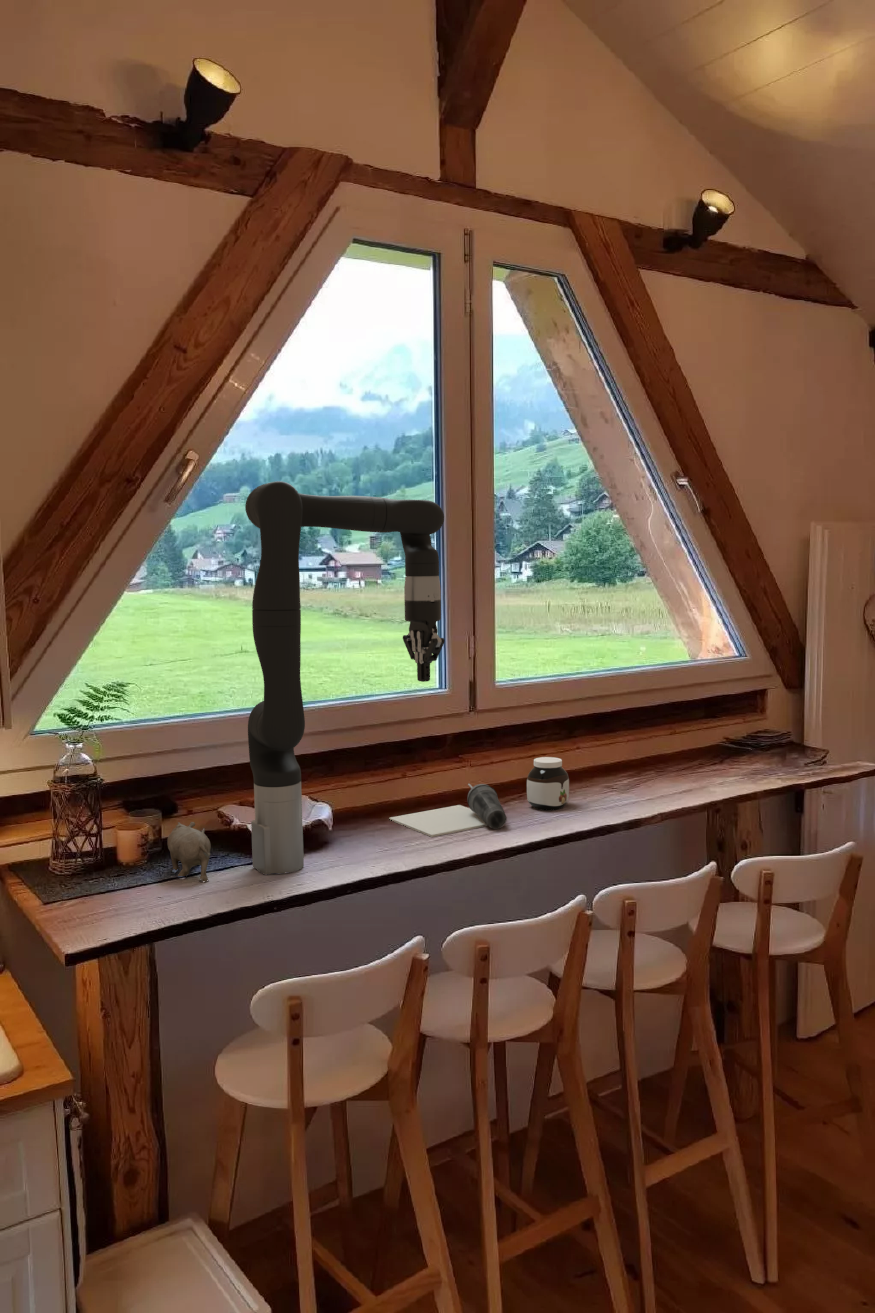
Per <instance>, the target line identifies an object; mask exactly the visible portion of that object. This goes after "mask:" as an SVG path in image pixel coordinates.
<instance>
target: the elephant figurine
mask: <svg viewBox="0 0 875 1313" xmlns="http://www.w3.org/2000/svg"><path fill="white" fill-rule="evenodd" d="M195 825H196V823H195V822H194V821H191V822H190V824H189V825H187V826H186V825H185V824H183V823H181V822H178V821H177V825H175V827H174V828H173V829H172V830H171V832H170V834H168V836H167V849H168V850H169V852H170V855H169V856H170V859H171V865H172V869H175V870H177V869H179V872H178V873H177V875H178V876H186V875H187V876H188V875H190V872H191V868H193V867H195V866H197V865H201V866H200V875H199V876H200V877H199V880H198V882H199V881H200V882H201V881H205V882H207V880H208V881H209V878H208V876H207V870H208V869H207V868H208V865H209V861H210V857H211V848H212V847H211V841H210V839H209V838H208V836H207V835H206V834H205V827H204V828H203V829H202V830H201V831H200V830H199V829H197V828H193V827H195ZM179 862H180V863H181V870H180V867H179ZM187 876H186V877H187ZM200 879H201V880H200Z"/></svg>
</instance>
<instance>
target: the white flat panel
mask: <svg viewBox="0 0 875 1313" xmlns="http://www.w3.org/2000/svg"><path fill="white" fill-rule="evenodd" d="M389 819H390V820H389ZM388 820H389V821H391V820H392V821H391V822H393V821H394V822H393V823H396V824H397V825H398V824H399V825H401V826H403V825H404V826H403V827H405V826H406V827H405V828H407V829H410V830H413V831H416V832H419V833H420V834H423V835H425V836H427V837H428V836H429V837H430V838H434V837H439V836H444V835H449V834H453V833H454V834H455V833H459V832H465V831H468V830H474V829H480V828H484V827H489V826H488V825H487V824H486V823H485V822H484V821H483V820H482V819H481V818H480V817H479V815H478V814H476V813H475V812H473V811H472V810H471V809H470V808H469V807H467V806H464V805H461V804H457V805H451V806H446V807H441V808H436V809H430V810H424V811H419V812H413V813H408V814H402V815H398V816H397V815H396V816H391V817H389V818H388Z"/></svg>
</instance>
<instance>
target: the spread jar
mask: <svg viewBox="0 0 875 1313" xmlns="http://www.w3.org/2000/svg"><path fill="white" fill-rule="evenodd" d="M569 795H570V778H569V773H568V772H567V771H566V770H565V768H564V767H563V759H562V758H559V757H553V756H541V757H536V758H534V759H533V768H531V770H530V771H529V772H528V773H527V778H526V799H527V801H528V803H529V805H530V806H532V807H533V808H534V809H536V810H539V811H557V810H561V809H563V807H565V806H566V804H567V803H568V801H569V797H570V796H569Z"/></svg>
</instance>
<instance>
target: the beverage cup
mask: <svg viewBox="0 0 875 1313" xmlns="http://www.w3.org/2000/svg"><path fill="white" fill-rule="evenodd" d="M467 786H468V787H470V789H469V790H468V793H467V804H468V808H470V809H471V810H472V811H473V812H475V813H476V814H478V815H479V817H480V818H481V819H482V820H483V821H484V822H485V823H486V824H487V825H488V826H487V827H489V828H491V829H494V830H499V829H501V828H502V827H503V826H505V824H507V823H506V822H507V815H506V812H505V810H504V808H503V805H502V804H501V802H500V800H499V798H498V793H497V791H496V789H495V788H494V787H492V786H490V785H489V784H486V783H478V784H475V785H474V786H472V784H470V783H468V784H467Z"/></svg>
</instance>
